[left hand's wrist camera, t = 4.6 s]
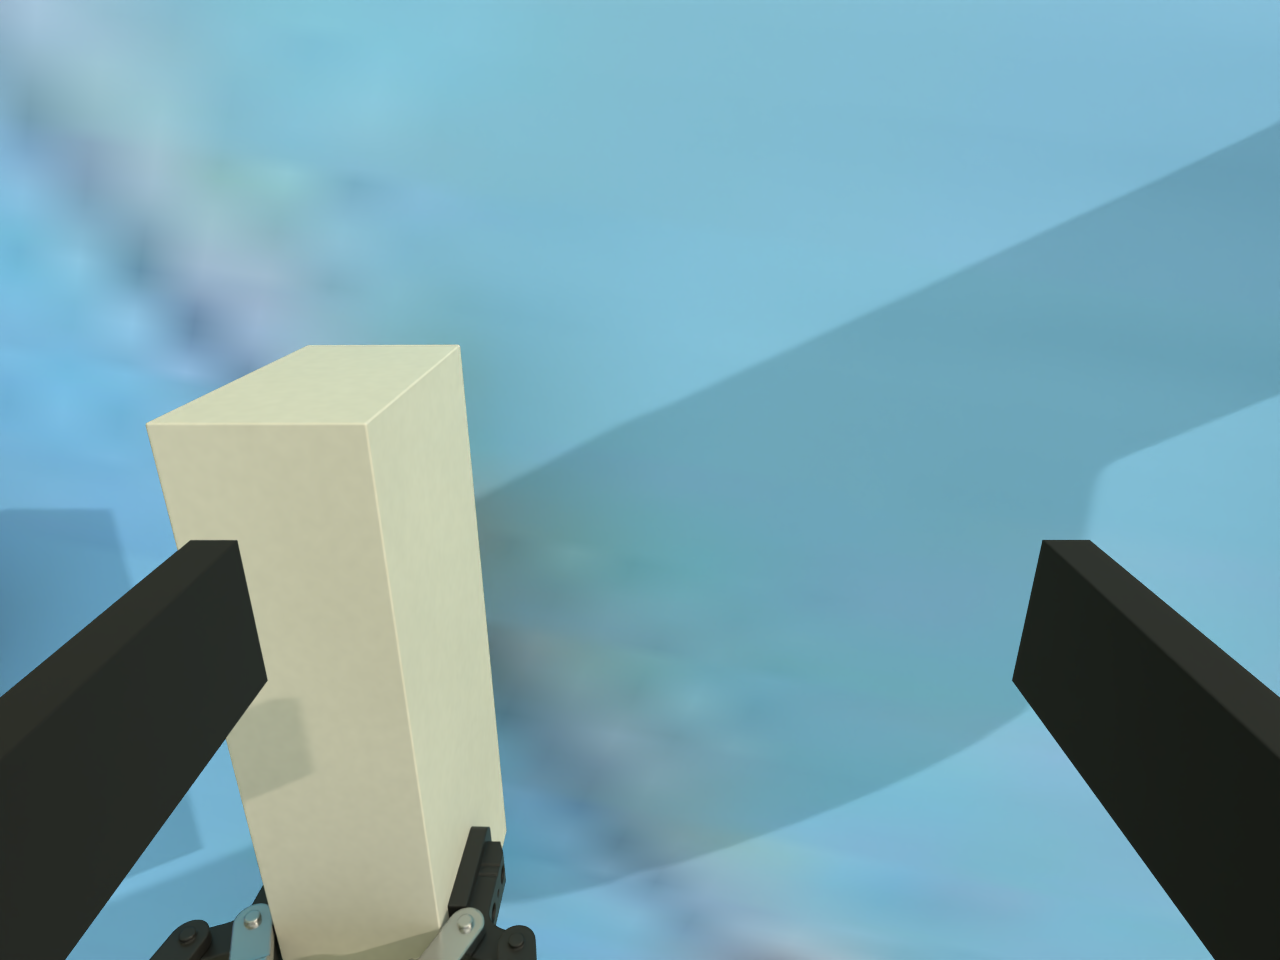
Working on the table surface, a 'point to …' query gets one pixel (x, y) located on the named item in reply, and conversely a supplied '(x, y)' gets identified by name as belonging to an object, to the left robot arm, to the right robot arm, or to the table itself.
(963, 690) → the table surface
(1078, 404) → the table surface
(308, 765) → the bar
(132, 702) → the left robot arm
